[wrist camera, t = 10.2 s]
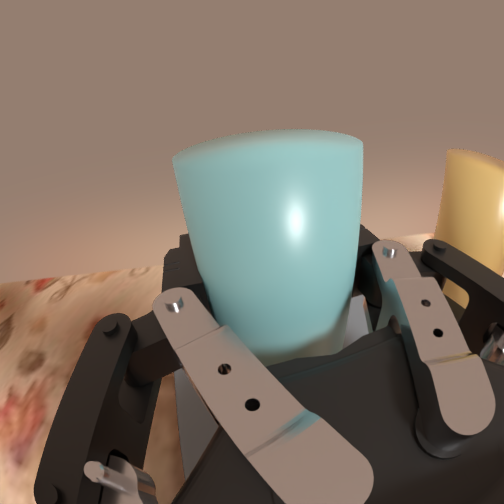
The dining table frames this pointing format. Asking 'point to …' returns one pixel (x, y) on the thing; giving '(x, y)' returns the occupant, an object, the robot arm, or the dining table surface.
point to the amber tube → (472, 212)
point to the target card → (199, 419)
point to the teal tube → (276, 235)
